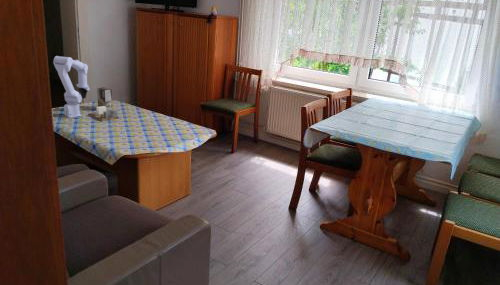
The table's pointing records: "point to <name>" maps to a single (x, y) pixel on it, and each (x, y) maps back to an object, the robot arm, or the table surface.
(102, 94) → the coffee box
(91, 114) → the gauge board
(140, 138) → the table surface
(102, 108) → the white rectangular block
